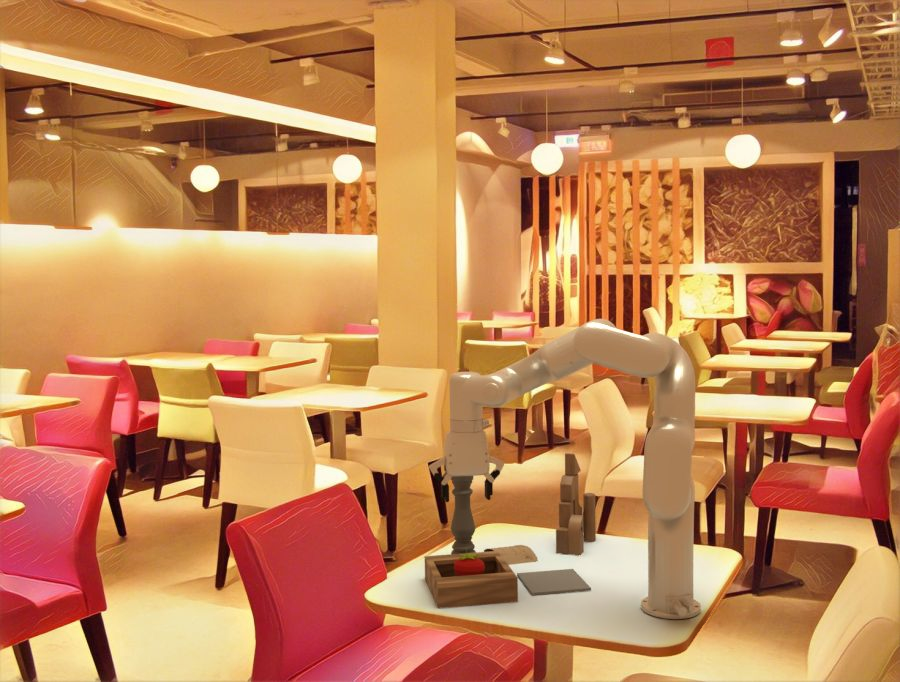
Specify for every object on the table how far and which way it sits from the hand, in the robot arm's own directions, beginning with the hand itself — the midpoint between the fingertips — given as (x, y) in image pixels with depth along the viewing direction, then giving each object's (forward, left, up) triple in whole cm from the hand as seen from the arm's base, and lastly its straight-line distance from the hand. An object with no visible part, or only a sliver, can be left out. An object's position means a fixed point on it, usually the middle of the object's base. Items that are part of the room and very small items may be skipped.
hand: (467, 499), depth 221 cm
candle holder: (+18, -2, -22) cm, 28 cm away
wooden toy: (+26, -34, -22) cm, 48 cm away
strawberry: (0, 0, -22) cm, 22 cm away
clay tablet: (+22, -15, -22) cm, 35 cm away
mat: (0, -20, -21) cm, 29 cm away
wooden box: (0, 0, -21) cm, 21 cm away
